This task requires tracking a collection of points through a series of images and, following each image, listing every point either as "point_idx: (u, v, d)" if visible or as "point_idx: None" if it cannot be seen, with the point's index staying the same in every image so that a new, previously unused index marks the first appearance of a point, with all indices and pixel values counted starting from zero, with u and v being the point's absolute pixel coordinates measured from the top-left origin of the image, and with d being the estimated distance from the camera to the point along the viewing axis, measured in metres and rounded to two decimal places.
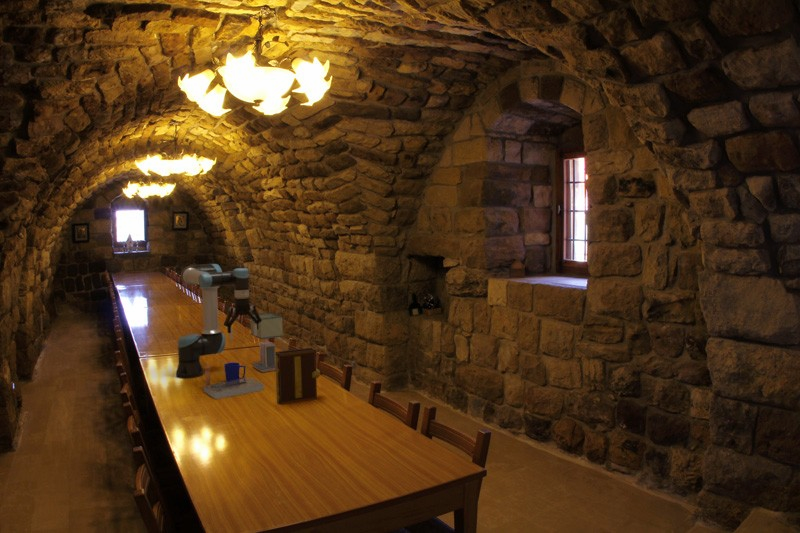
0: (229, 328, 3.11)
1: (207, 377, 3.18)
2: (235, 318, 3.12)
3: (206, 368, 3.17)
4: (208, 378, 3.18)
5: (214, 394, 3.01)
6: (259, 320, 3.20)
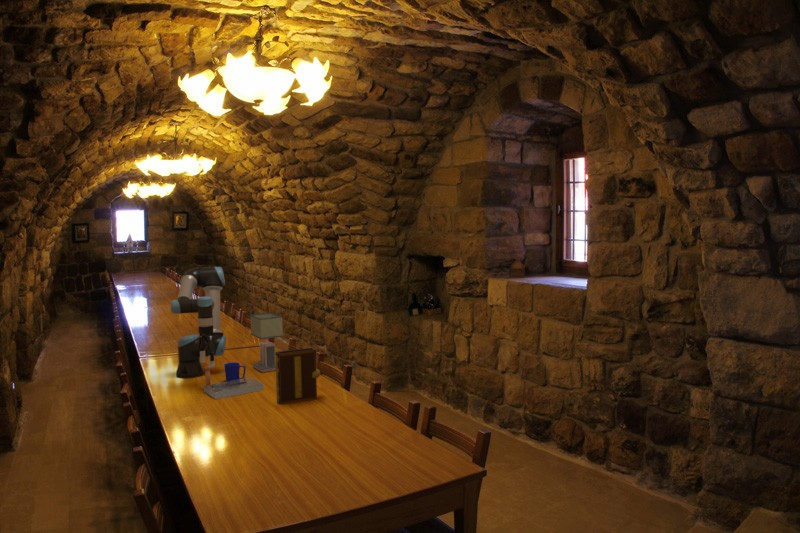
0: None
1: (207, 377, 3.18)
2: (201, 344, 3.20)
3: (206, 368, 3.17)
4: (208, 378, 3.18)
5: (214, 394, 3.01)
6: (210, 352, 3.10)
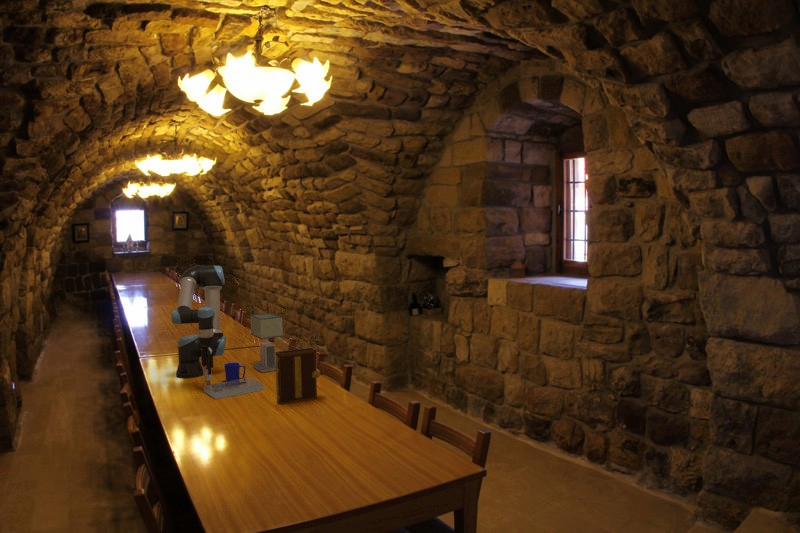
0: None
1: None
2: (203, 357, 3.19)
3: None
4: None
5: (214, 394, 3.01)
6: (208, 366, 3.14)
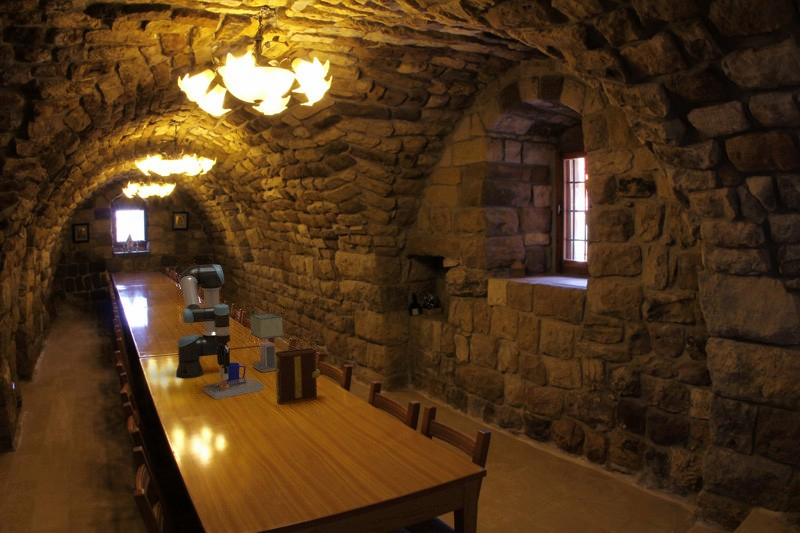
0: None
1: None
2: (219, 356, 3.11)
3: None
4: None
5: (214, 394, 3.01)
6: (224, 364, 3.06)
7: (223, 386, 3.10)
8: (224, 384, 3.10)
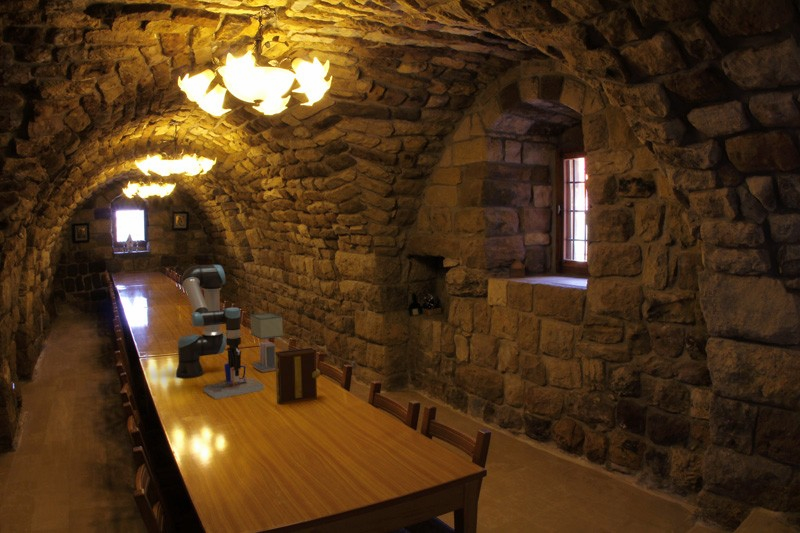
0: None
1: None
2: (230, 358, 3.15)
3: None
4: None
5: (214, 394, 3.01)
6: (235, 367, 3.10)
7: None
8: None
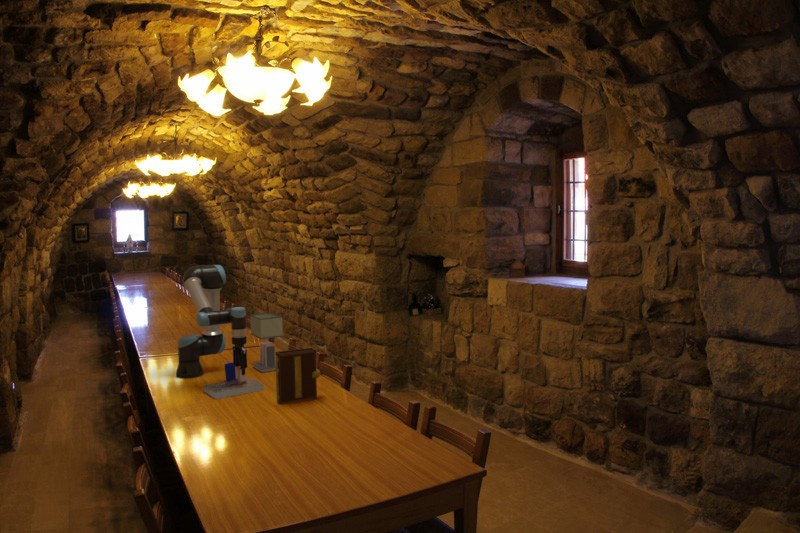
0: None
1: None
2: (235, 357, 3.17)
3: (239, 369, 3.15)
4: None
5: (214, 394, 3.01)
6: (241, 366, 3.11)
7: None
8: None
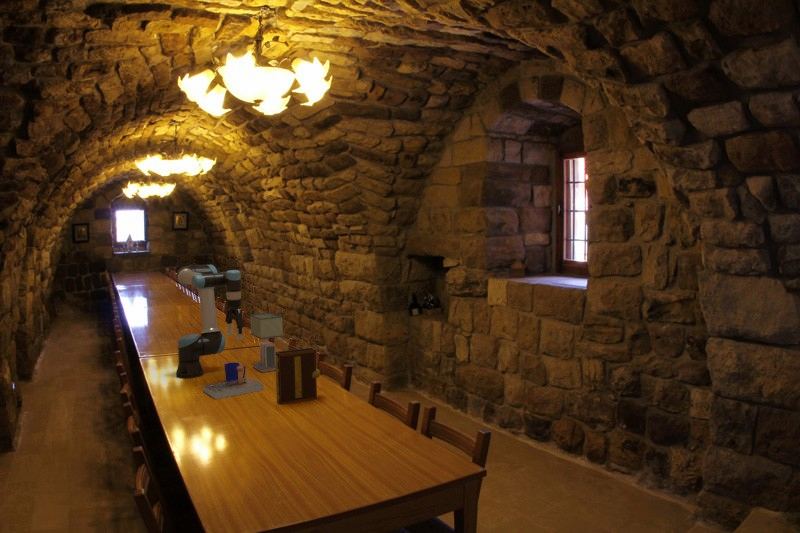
0: None
1: (240, 378, 3.16)
2: (229, 317, 3.25)
3: (239, 369, 3.15)
4: (241, 379, 3.16)
5: (214, 394, 3.01)
6: (238, 325, 3.15)
7: None
8: None
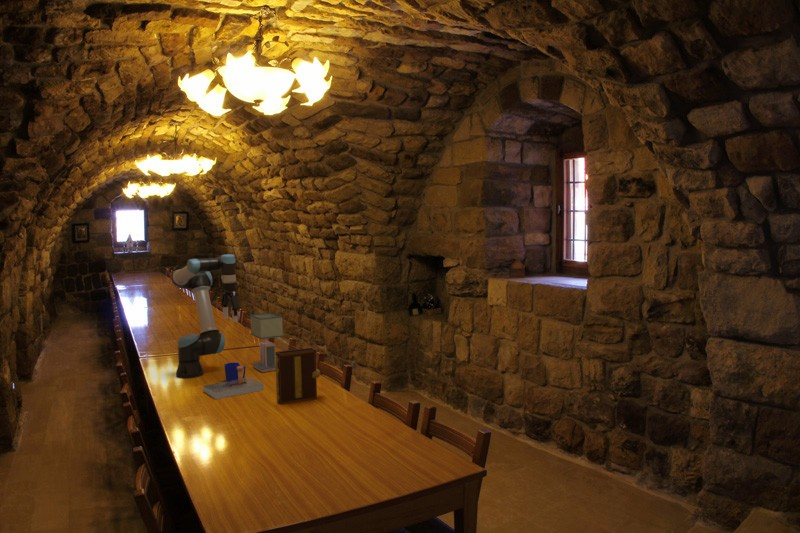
0: (223, 308, 3.37)
1: (240, 378, 3.16)
2: (224, 300, 3.33)
3: (239, 369, 3.15)
4: (241, 379, 3.16)
5: (214, 394, 3.01)
6: (233, 307, 3.23)
7: None
8: None
